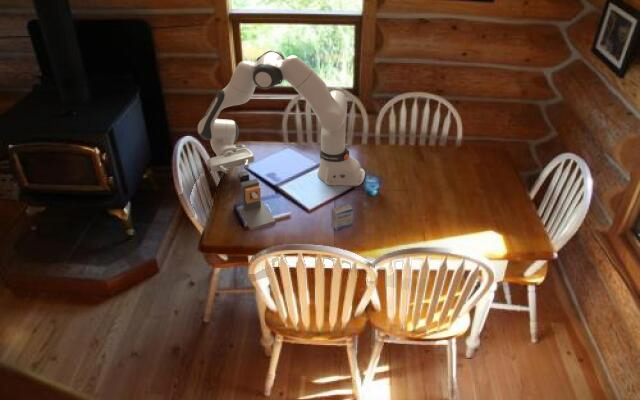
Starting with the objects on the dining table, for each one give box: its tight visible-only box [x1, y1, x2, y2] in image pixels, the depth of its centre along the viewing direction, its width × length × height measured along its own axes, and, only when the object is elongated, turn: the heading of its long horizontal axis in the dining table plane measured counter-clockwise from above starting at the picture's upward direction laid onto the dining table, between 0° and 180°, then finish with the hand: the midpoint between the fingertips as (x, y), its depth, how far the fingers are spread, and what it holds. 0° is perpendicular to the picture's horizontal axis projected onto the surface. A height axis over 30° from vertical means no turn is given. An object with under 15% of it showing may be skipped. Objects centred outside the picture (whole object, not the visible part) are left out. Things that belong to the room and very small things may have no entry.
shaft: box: [237, 170, 259, 200], centre depth 220 cm, size 16×4×6 cm, turn 26°
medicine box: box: [330, 203, 354, 231], centre depth 215 cm, size 8×4×9 cm, turn 117°
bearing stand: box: [237, 178, 277, 232], centre depth 217 cm, size 16×11×14 cm
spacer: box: [245, 184, 262, 204], centre depth 217 cm, size 2×6×6 cm, turn 117°
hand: (237, 169), depth 231 cm, fingers open, 8 cm apart
